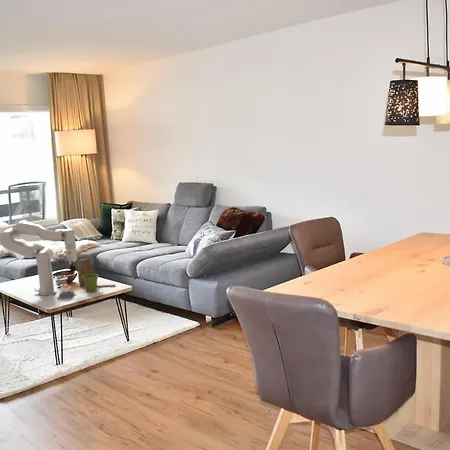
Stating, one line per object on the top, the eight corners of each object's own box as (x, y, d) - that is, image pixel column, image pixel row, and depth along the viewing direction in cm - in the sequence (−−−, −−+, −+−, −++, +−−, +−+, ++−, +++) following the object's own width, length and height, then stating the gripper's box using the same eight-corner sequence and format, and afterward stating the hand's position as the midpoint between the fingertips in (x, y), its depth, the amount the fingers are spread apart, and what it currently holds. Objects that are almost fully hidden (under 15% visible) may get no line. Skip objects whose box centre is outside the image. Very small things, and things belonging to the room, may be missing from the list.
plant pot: (103, 289, 397) (101, 274, 395) (91, 293, 387) (89, 278, 385) (91, 288, 403) (90, 273, 401) (79, 292, 393) (78, 276, 391)
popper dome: (60, 296, 378) (59, 285, 377) (63, 294, 385) (62, 283, 384) (69, 296, 378) (68, 285, 377) (72, 293, 385) (71, 282, 384)
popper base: (57, 299, 377) (57, 294, 376) (61, 295, 387) (61, 290, 386) (72, 298, 377) (71, 293, 376) (75, 294, 387) (75, 289, 386)
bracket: (94, 287, 403) (94, 286, 403) (95, 286, 406) (95, 285, 405) (114, 286, 403) (114, 285, 403) (115, 285, 406) (115, 284, 406)
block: (82, 286, 407) (80, 260, 404) (78, 285, 413) (75, 259, 410) (95, 284, 414) (93, 258, 411) (91, 282, 420) (88, 257, 417)
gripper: (73, 247, 382) (75, 273, 385) (78, 243, 397) (80, 268, 400) (62, 248, 382) (65, 273, 385) (67, 244, 397) (70, 269, 400)
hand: (73, 271), depth 392 cm, fingers closed
